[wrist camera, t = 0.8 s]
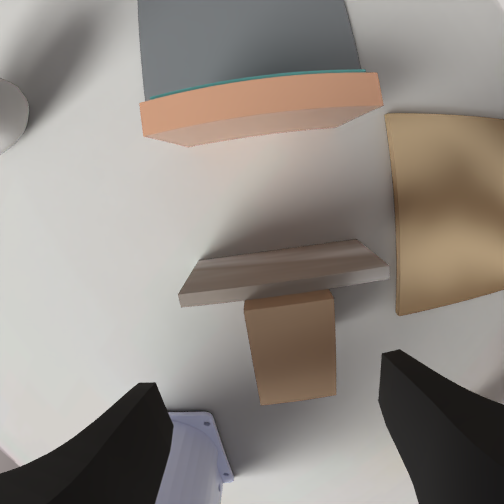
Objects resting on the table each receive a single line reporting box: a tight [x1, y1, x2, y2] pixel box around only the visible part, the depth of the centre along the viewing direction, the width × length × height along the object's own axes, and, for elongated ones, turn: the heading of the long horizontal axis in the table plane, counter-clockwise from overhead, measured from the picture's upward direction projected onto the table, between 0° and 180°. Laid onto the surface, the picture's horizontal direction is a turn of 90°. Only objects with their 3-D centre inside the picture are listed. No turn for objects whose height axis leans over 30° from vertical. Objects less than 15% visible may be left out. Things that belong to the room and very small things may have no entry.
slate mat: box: [138, 0, 361, 101], centre depth 14 cm, size 10×12×1 cm
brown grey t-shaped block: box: [178, 239, 390, 405], centre depth 15 cm, size 6×9×6 cm, turn 98°
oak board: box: [384, 113, 504, 316], centre depth 16 cm, size 12×12×1 cm
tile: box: [139, 69, 384, 147], centre depth 12 cm, size 1×8×7 cm, turn 98°
